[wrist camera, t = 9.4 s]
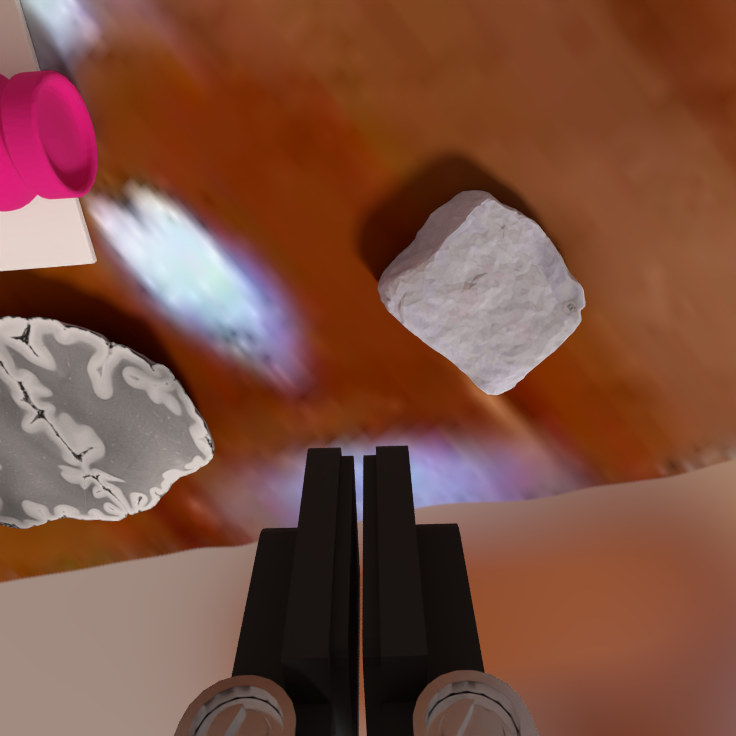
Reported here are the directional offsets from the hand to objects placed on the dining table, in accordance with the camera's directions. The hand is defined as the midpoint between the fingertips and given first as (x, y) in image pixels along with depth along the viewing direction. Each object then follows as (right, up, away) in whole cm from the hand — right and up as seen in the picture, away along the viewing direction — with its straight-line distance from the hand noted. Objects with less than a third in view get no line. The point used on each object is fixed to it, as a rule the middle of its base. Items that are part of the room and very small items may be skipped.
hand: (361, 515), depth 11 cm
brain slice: (-21, 0, +36) cm, 42 cm away
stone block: (+8, +8, +32) cm, 34 cm away
